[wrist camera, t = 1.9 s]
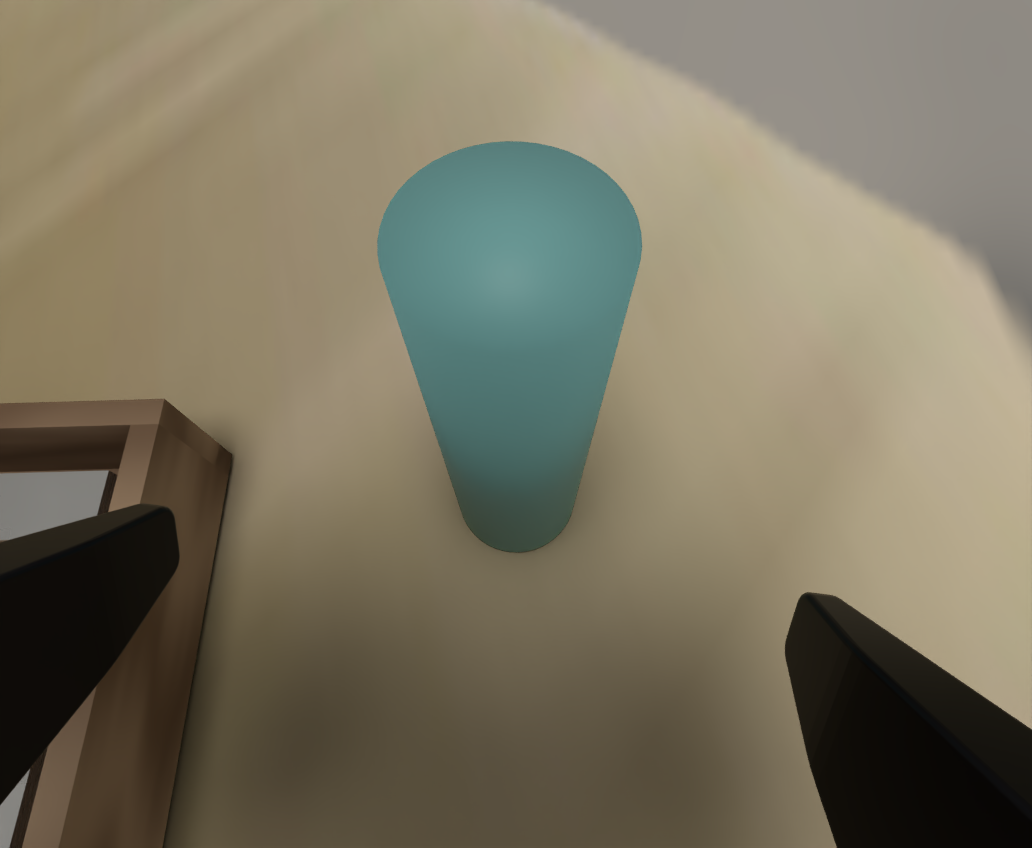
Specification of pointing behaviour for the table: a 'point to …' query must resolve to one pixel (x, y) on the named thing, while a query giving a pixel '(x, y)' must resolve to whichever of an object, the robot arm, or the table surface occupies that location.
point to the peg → (511, 322)
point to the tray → (158, 641)
